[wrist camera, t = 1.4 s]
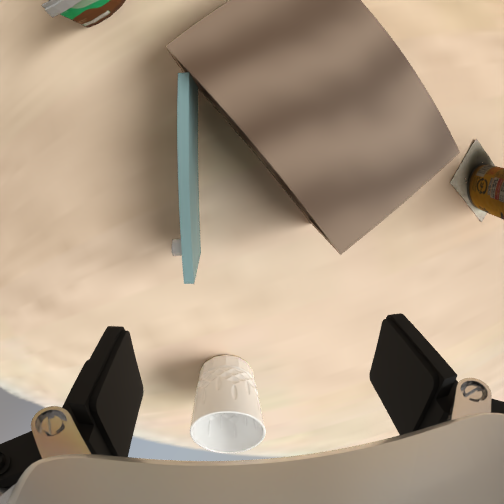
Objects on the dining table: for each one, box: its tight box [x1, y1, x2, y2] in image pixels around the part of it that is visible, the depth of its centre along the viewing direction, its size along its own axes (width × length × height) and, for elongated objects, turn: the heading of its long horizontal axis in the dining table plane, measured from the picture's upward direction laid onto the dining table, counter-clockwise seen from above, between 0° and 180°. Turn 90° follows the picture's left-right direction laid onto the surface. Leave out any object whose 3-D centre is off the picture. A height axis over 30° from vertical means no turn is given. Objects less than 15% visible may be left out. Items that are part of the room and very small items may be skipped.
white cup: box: [190, 355, 266, 453], centre depth 33 cm, size 8×8×10 cm
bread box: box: [165, 0, 460, 255], centre depth 24 cm, size 20×14×9 cm
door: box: [172, 72, 201, 284], centre depth 25 cm, size 16×2×7 cm, turn 179°
